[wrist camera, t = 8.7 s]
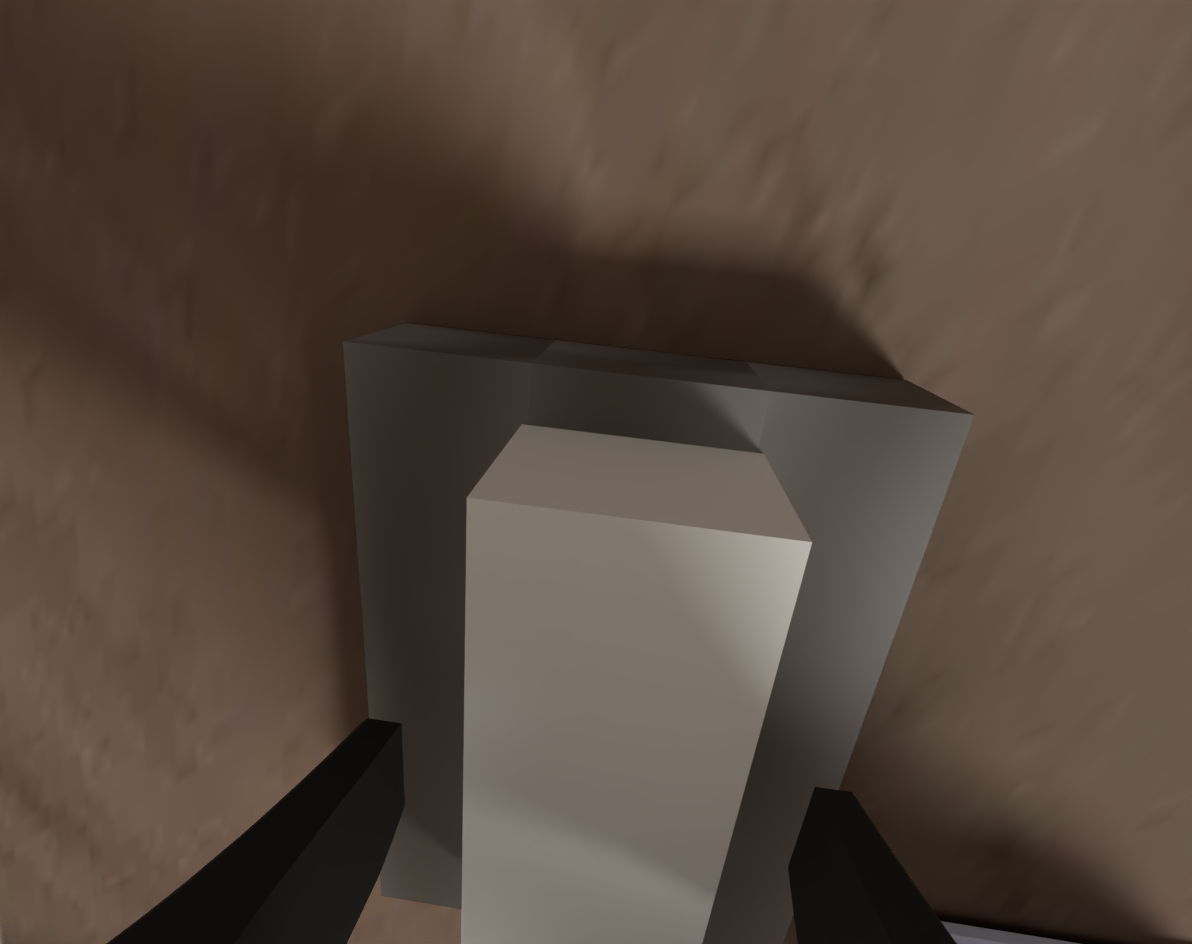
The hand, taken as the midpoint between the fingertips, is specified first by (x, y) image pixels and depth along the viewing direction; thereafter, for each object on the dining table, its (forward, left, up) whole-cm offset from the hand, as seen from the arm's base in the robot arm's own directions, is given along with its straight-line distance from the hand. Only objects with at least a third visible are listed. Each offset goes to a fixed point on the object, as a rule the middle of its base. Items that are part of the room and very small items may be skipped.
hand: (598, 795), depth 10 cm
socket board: (0, 0, -4) cm, 4 cm away
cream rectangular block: (0, 0, -4) cm, 4 cm away
